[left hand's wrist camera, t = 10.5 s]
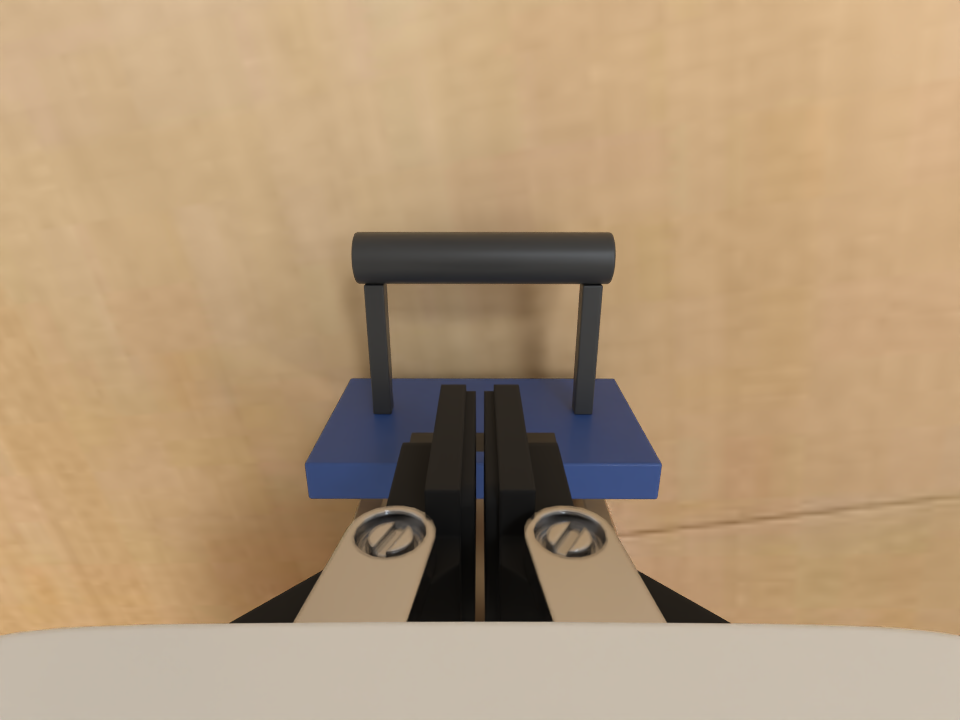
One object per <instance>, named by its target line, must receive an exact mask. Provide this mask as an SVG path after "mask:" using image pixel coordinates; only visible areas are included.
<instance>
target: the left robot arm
mask: <svg viewBox="0 0 960 720" xmlns="http://www.w3.org/2000/svg"><path fill="white" fill-rule="evenodd" d="M475 591H476V391H466V384H441V388H440V395H439V401H438V407H437V414H436V420H435V426H434V433H433V439H432V442H404V443H402V446H401V450H400V454H399V458H398V462H397V466H396V469H395V473H394V477H393V481H392V485H391V489H390V493H389V497H388V501H387V505H386V507H381V508H376V509H374V510H371V511H369V512H366V513H364V514H362V515H361V516H359V517H358V518H356V519H355V520H354V521H353V522H352V523H351V524H350V526H349V527H348V528H347V530H346V531H345V533H344V535H343V537H342V538H341V540H340V542H339V544H338V545H337V547H336V549H335V550H334V552H333V554H332V556H331V557H330V559H329V561H328V563H327V564H326V566H325V568H324V570H323V571H321V572H319V573H317V574H315V575H314V576H312V577H310V578H308V579H307V580H305V581H303V582H301V583H300V584H298V585H296V586H294V587H292V588H291V589H289V590H287V591H285V592H284V593H282V594H280V595H278V596H276V597H275V598H273V599H271V600H269V601H268V602H266V603H264V604H262V605H261V606H259V607H257V608H255V609H253V610H252V611H250V612H248V613H246V614H245V615H243V616H241V617H239V618H238V619H236V620H234V621H232V622H230V623H224V624H140V625H113V626H86V627H63V628H53V629H43V630H33V631H23V632H16V633H11V634H5V635H0V720H960V635H955V634H949V633H944V632H937V631H927V630H917V629H907V628H897V627H874V626H847V625H820V624H736V623H730V622H728V621H726V620H724V619H722V618H721V617H719V616H717V615H715V614H714V613H712V612H710V611H708V610H707V609H705V608H703V607H701V606H699V605H698V604H696V603H694V602H692V601H691V600H689V599H687V598H685V597H684V596H682V595H680V594H678V593H676V592H675V591H673V590H671V589H669V588H668V587H666V586H664V585H662V584H660V583H659V582H657V581H655V580H653V579H652V578H650V577H648V576H646V575H645V574H643V573H641V572H639V571H637V570H636V568H635V566H634V564H633V563H632V561H631V559H630V557H629V556H628V554H627V552H626V550H625V549H624V547H623V545H622V544H621V542H620V540H619V538H618V537H617V535H616V533H615V531H614V530H613V528H612V527H611V526H610V524H609V523H608V522H607V521H606V520H605V519H604V518H602V517H601V516H599V515H598V514H596V513H594V512H591V511H589V510H586V509H584V508H579V507H574V505H573V501H572V497H571V493H570V489H569V485H568V481H567V477H566V473H565V469H564V466H563V462H562V458H561V454H560V450H559V446H558V443H556V442H528V439H527V433H526V426H525V420H524V414H523V407H522V401H521V395H520V388H519V384H494V391H484V591H485V622H475Z"/></svg>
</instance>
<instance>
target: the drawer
mask: <svg viewBox="0 0 960 720" xmlns="http://www.w3.org/2000/svg"><path fill="white" fill-rule="evenodd" d="M352 268H353V274H354V277H355V280H356V282H357V283H359V284H365V285H364V294H365V308H366V321H367V334H368V347H369V361H370V374H371V379H362V378H353V379H351V380H350V382H349V383H348V385H347V387H346V389H345V391H344V393H343V394H342V396H341V398H340V400H339V402H338V404H337V406H336V407H335V409H334V411H333V413H332V415H331V417H330V418H329V420H328V422H327V424H326V426H325V428H324V430H323V431H322V433H321V435H320V437H319V439H318V441H317V443H316V444H315V446H314V448H313V450H312V452H311V454H310V455H309V457H308V459H307V461H306V463H305V469H306V477H307V485H308V493H309V497H310V498H311V499H360V501H359V504H358V507H357V510H356V513H355V516H354V519H353V521H354V520H355V519H356V518H358V517H359V516H361V515H362V514H364V513H366V512H369V511H371V510H374V509H376V508H381V507H386V505H387V501H388V497H389V493H390V489H391V485H392V481H393V477H394V473H395V469H396V466H397V462H398V458H399V454H400V450H401V446H402V443H404V442H432V439H433V433H434V426H435V420H436V414H437V407H438V401H439V395H440V388H441V384H466V391H476V591H475V622H485V591H484V391H494V384H519V388H520V395H521V401H522V407H523V414H524V420H525V426H526V433H527V439H528V442H556V443H558V446H559V450H560V454H561V458H562V462H563V466H564V469H565V473H566V477H567V481H568V485H569V489H570V493H571V497H572V501H573V505H574V507H579V508H584V509H586V510H589V511H591V512H594V513H596V514H598V515H599V516H601V517H602V518H604V519H605V520H606V521H607V522H608V523H609V524H610V526H611V527H612V528H613V530H614V531H615V533H616V535H617V532H616V529H615V526H614V524H613V521H612V518H611V515H610V512H609V509H608V506H607V503H606V501H605V499H657V496H658V489H659V482H660V475H661V467H662V464H661V462H660V460H659V458H658V457H657V455H656V453H655V451H654V450H653V448H652V446H651V444H650V442H649V441H648V439H647V437H646V435H645V433H644V432H643V430H642V428H641V426H640V424H639V423H638V421H637V419H636V417H635V415H634V414H633V412H632V410H631V408H630V407H629V405H628V403H627V401H626V399H625V398H624V396H623V394H622V392H621V390H620V389H619V387H618V385H617V383H616V381H615V380H614V379H595V376H596V363H597V351H598V339H599V327H600V315H601V302H602V290H603V286H602V285H601V284H608V283H610V282H611V280H612V277H613V274H614V268H615V241H614V237H613V235H612V233H609V232H357V233H355V234H354V237H353V241H352ZM386 284H580V292H579V307H578V322H577V337H576V352H575V367H574V379H392V368H391V352H390V335H389V318H388V302H387V285H386ZM617 537H618V535H617Z"/></svg>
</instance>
